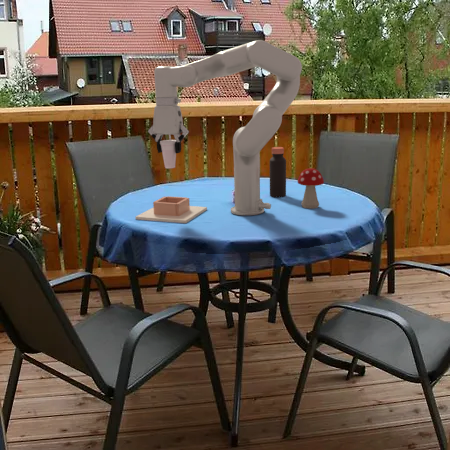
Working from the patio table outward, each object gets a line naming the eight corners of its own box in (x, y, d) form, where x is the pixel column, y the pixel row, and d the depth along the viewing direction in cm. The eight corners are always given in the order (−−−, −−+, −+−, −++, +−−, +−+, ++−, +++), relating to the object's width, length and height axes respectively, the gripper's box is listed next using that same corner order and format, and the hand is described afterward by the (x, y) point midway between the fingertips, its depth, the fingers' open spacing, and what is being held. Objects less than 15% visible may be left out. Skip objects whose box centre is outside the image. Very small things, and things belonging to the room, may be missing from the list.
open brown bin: (207, 209, 230) (206, 195, 228) (185, 223, 212) (185, 208, 210) (160, 206, 236) (159, 192, 235) (135, 219, 218) (134, 204, 217)
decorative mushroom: (324, 204, 232) (325, 166, 228) (322, 210, 224) (322, 170, 220) (299, 203, 235) (299, 166, 231) (295, 209, 227) (295, 170, 223)
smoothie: (176, 169, 215) (173, 130, 212) (159, 169, 217) (156, 130, 213) (180, 165, 221) (178, 127, 218) (164, 165, 223) (162, 127, 219)
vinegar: (288, 196, 247) (289, 148, 241) (274, 198, 245) (274, 149, 239) (281, 193, 253) (281, 146, 248) (266, 195, 251) (266, 147, 245)
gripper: (193, 101, 213) (195, 151, 218) (149, 101, 219) (152, 150, 224) (184, 103, 206) (186, 154, 211) (140, 103, 212) (143, 153, 217)
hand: (169, 152), depth 218 cm, fingers closed on smoothie, 6 cm apart
